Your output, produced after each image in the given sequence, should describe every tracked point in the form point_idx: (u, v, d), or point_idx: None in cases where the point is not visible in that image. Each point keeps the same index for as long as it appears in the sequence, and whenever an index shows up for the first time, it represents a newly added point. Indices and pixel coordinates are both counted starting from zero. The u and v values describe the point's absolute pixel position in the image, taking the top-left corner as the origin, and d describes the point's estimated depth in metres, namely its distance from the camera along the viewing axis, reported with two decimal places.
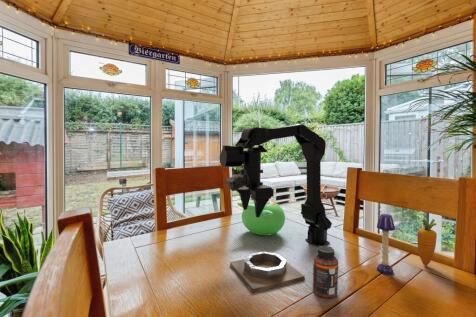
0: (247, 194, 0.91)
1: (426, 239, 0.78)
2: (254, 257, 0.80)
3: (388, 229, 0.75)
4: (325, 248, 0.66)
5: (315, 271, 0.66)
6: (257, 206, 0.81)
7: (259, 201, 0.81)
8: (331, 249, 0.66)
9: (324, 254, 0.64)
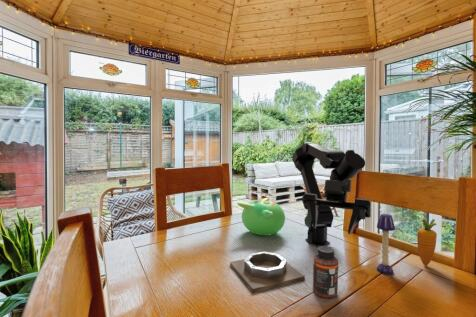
0: (316, 214, 0.79)
1: (426, 239, 0.78)
2: (254, 257, 0.80)
3: (388, 229, 0.75)
4: (325, 248, 0.66)
5: (315, 271, 0.66)
6: (355, 220, 0.72)
7: None
8: (331, 249, 0.66)
9: (324, 254, 0.64)
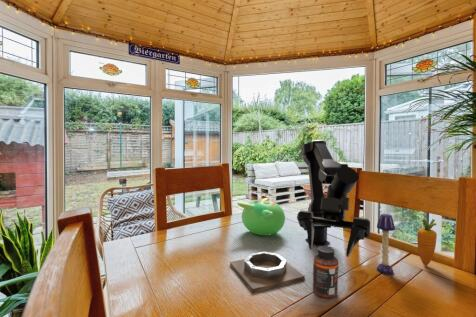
0: (313, 233, 0.74)
1: (426, 239, 0.78)
2: (254, 257, 0.80)
3: (388, 229, 0.75)
4: (325, 248, 0.66)
5: (315, 271, 0.66)
6: (353, 241, 0.67)
7: None
8: (331, 249, 0.66)
9: (324, 254, 0.64)
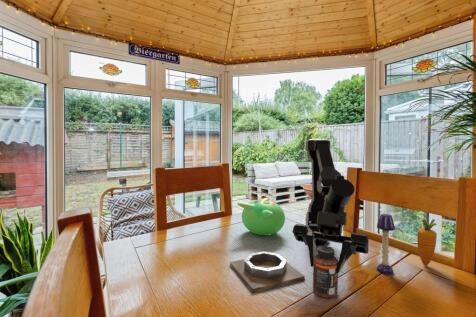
0: (314, 248, 0.70)
1: (426, 239, 0.78)
2: (254, 257, 0.80)
3: (388, 229, 0.75)
4: (325, 248, 0.66)
5: (315, 271, 0.66)
6: (345, 257, 0.65)
7: None
8: (331, 249, 0.66)
9: (324, 254, 0.64)
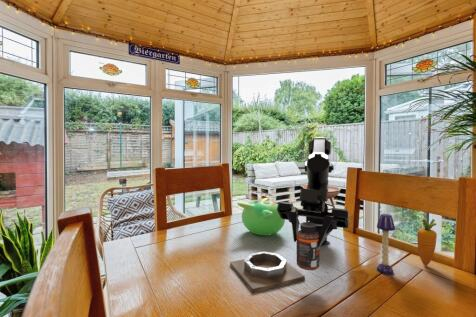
0: (297, 225, 0.73)
1: (426, 239, 0.78)
2: (254, 257, 0.80)
3: (388, 229, 0.75)
4: (307, 223, 0.69)
5: (298, 245, 0.68)
6: (326, 231, 0.67)
7: None
8: (313, 224, 0.68)
9: (306, 229, 0.67)
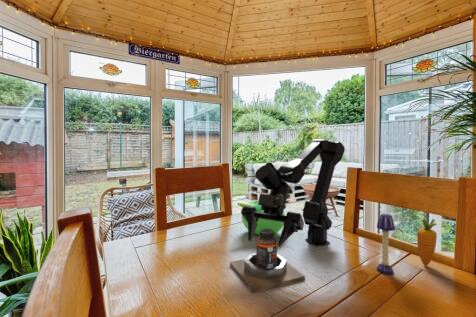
0: (254, 226, 0.81)
1: (426, 239, 0.78)
2: (254, 257, 0.80)
3: (388, 229, 0.75)
4: (266, 230, 0.77)
5: (257, 250, 0.76)
6: (285, 233, 0.74)
7: None
8: (271, 231, 0.76)
9: (264, 235, 0.75)
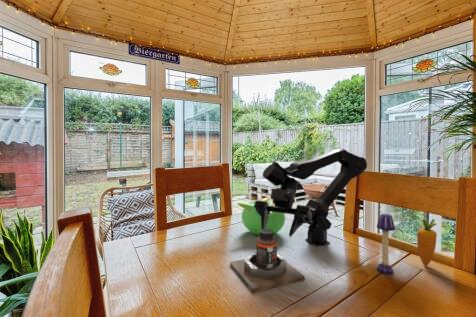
0: (266, 218, 0.89)
1: (426, 239, 0.78)
2: (254, 257, 0.80)
3: (388, 229, 0.75)
4: (266, 230, 0.77)
5: (257, 250, 0.76)
6: (296, 224, 0.82)
7: None
8: (271, 231, 0.76)
9: (264, 235, 0.75)
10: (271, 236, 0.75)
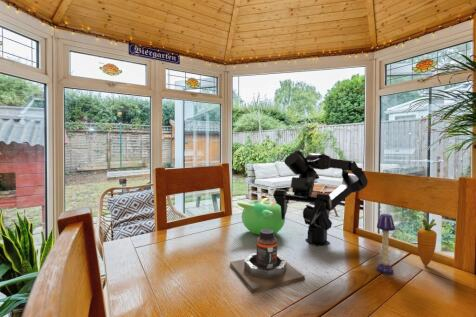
0: (285, 207, 0.90)
1: (426, 239, 0.78)
2: (254, 257, 0.80)
3: (388, 229, 0.75)
4: (266, 230, 0.77)
5: (257, 250, 0.76)
6: (316, 212, 0.83)
7: None
8: (271, 231, 0.76)
9: (264, 235, 0.75)
10: (271, 236, 0.75)
